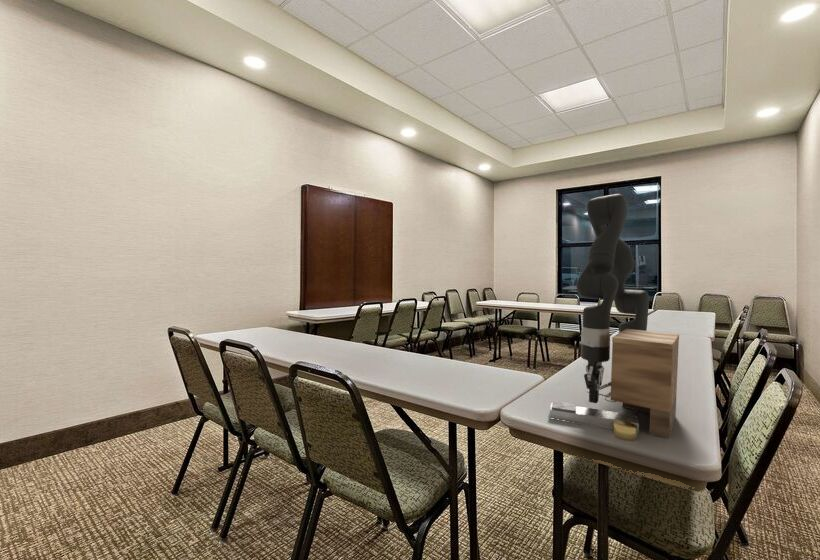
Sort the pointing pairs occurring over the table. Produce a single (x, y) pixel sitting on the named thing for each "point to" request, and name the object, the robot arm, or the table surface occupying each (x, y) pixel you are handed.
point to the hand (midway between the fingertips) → (593, 402)
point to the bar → (589, 415)
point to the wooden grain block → (646, 375)
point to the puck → (625, 430)
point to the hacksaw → (607, 394)
